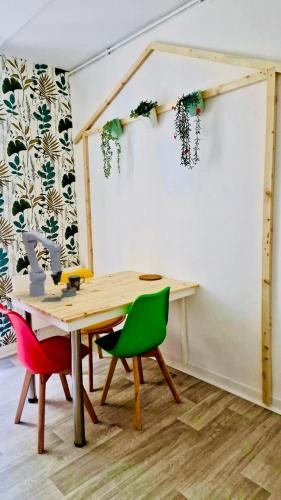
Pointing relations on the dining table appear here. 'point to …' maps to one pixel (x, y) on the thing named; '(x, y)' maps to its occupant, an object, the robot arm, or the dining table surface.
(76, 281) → the coffee mug
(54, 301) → the mat
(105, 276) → the dining table surface
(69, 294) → the bowl
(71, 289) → the lid
